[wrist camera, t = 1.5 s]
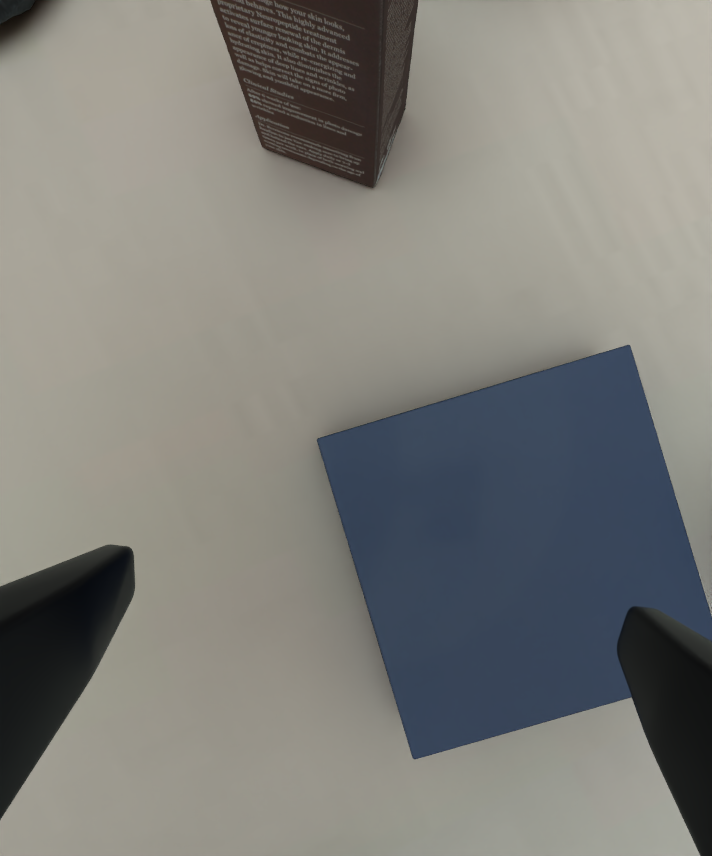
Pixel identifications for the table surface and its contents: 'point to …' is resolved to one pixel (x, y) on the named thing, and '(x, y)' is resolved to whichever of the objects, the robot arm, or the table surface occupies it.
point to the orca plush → (13, 8)
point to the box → (323, 76)
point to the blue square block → (513, 546)
